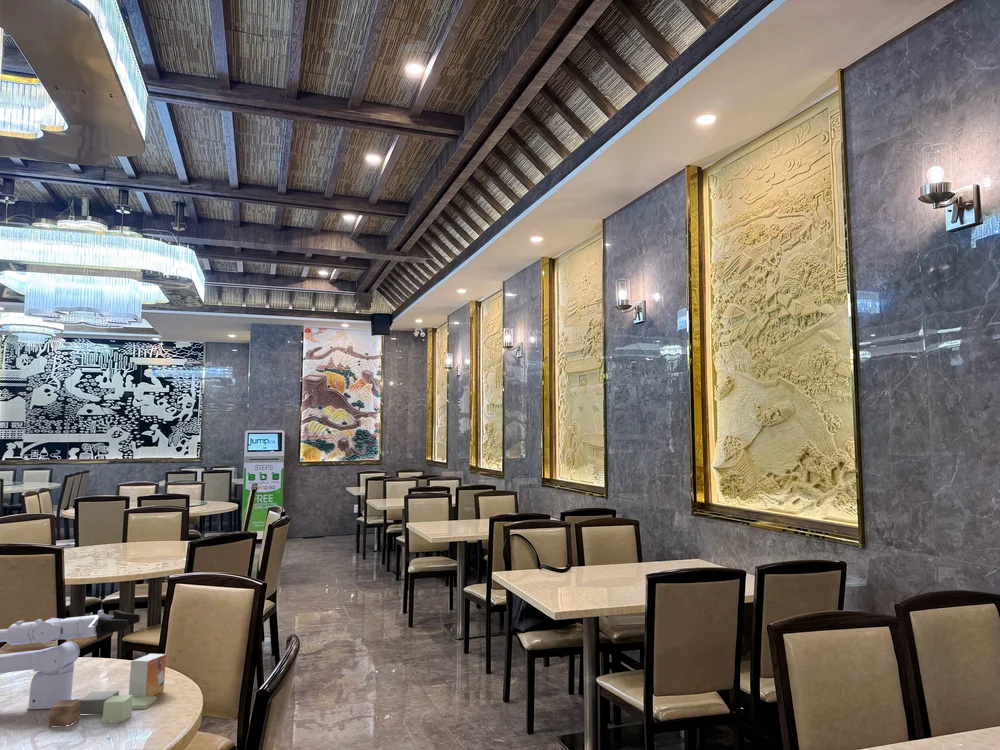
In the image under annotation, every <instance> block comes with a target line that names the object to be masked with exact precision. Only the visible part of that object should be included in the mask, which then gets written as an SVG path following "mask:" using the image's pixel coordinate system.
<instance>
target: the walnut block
mask: <svg viewBox="0 0 1000 750" xmlns="http://www.w3.org/2000/svg"><path fill="white" fill-rule="evenodd" d="M81 699H82V698H81ZM81 699H80V698H79V699H76V700H61V701H59V702H57V703H56V704H54V705H53V706H51V707H50V709H49V716H48V717H49V718H48V728H53V727H52V726H66V725H71V724H72V723H74V722H75V721H77V720H78V719H79V720H81V715H80V710H81ZM79 720H78V721H79ZM78 721H77V722H78ZM75 723H76V722H75ZM75 723H74V724H75ZM72 725H73V724H72ZM72 725H71V726H72Z"/></svg>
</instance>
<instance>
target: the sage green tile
mask: <svg viewBox="0 0 1000 750" xmlns="http://www.w3.org/2000/svg"><path fill="white" fill-rule="evenodd" d="M155 700H156V701H157V695H154V696H150V697H133V699H132V710H143V709H144V710H146V709H148V708H149V707H150V706H151V705H152V704H153V703H154V702H156V701H155ZM150 704H151V705H150ZM149 705H150V706H149Z"/></svg>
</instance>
